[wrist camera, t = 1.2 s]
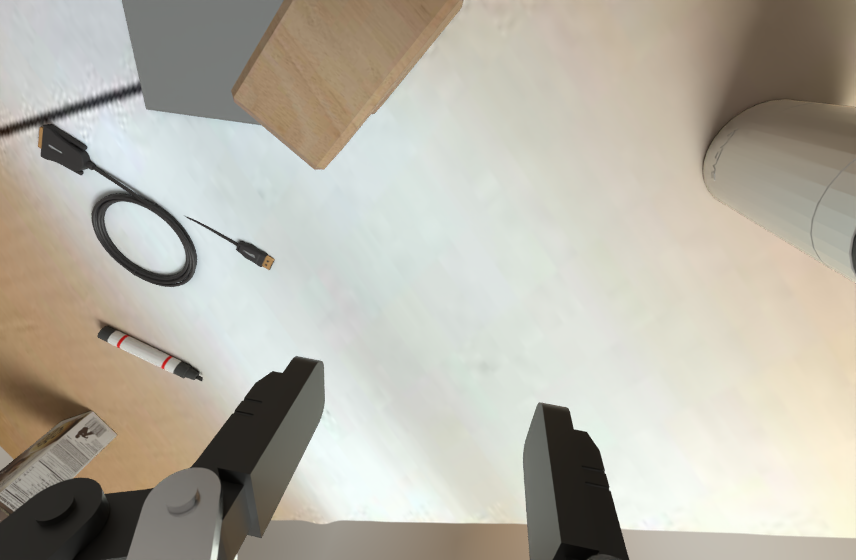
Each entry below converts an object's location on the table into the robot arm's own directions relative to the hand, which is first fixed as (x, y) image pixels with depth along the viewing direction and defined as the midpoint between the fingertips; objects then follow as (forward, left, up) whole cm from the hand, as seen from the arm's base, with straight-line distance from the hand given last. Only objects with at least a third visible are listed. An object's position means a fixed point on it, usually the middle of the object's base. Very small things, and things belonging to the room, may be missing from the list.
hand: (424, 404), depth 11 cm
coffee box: (+59, +54, -32) cm, 86 cm away
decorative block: (+8, -10, -31) cm, 34 cm away
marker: (+42, +33, -32) cm, 62 cm away
